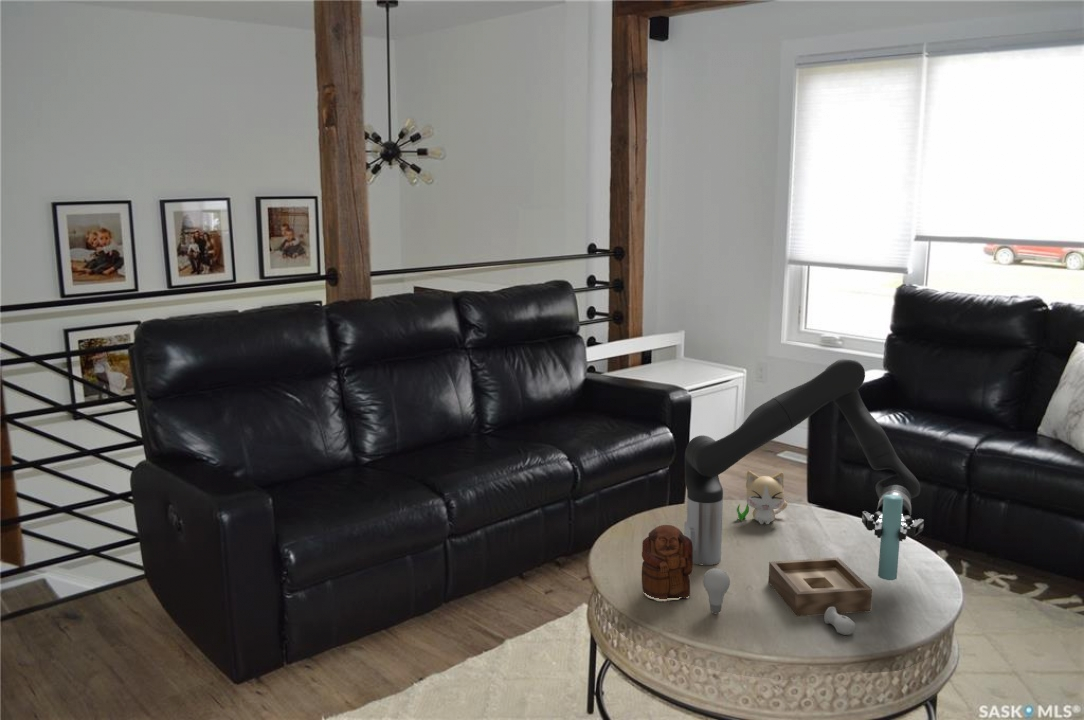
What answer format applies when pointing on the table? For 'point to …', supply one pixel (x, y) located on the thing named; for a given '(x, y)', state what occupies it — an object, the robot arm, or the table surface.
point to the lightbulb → (716, 587)
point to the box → (819, 586)
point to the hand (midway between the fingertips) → (890, 535)
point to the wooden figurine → (666, 563)
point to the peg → (890, 537)
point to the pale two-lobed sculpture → (839, 621)
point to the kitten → (764, 497)
